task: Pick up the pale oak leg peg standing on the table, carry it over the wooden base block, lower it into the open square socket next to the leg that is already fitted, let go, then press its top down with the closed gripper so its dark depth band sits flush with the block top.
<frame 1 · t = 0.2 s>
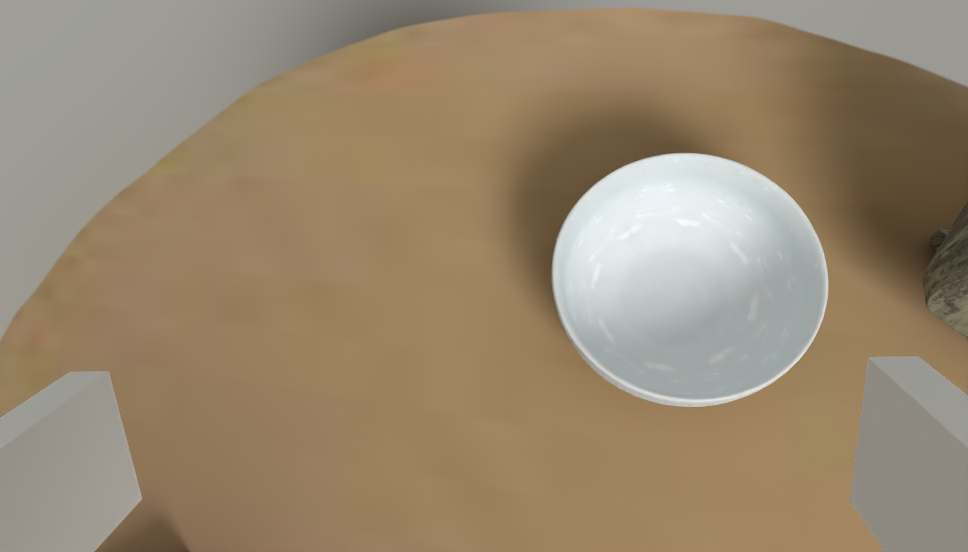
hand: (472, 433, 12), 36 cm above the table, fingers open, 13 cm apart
cereal bowl: (668, 299, 48), on the table
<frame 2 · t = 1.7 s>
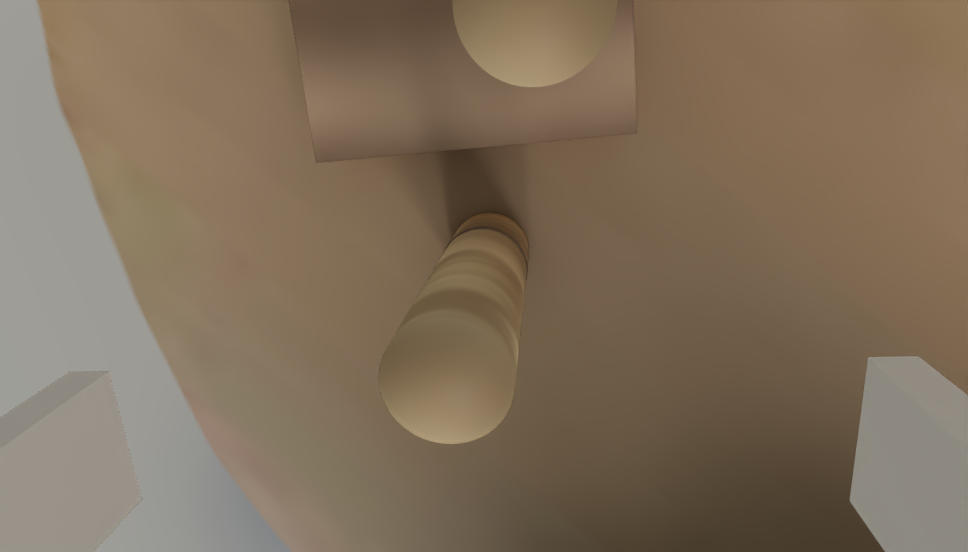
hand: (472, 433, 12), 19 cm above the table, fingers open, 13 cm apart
leg peg: (490, 250, 31), on the table
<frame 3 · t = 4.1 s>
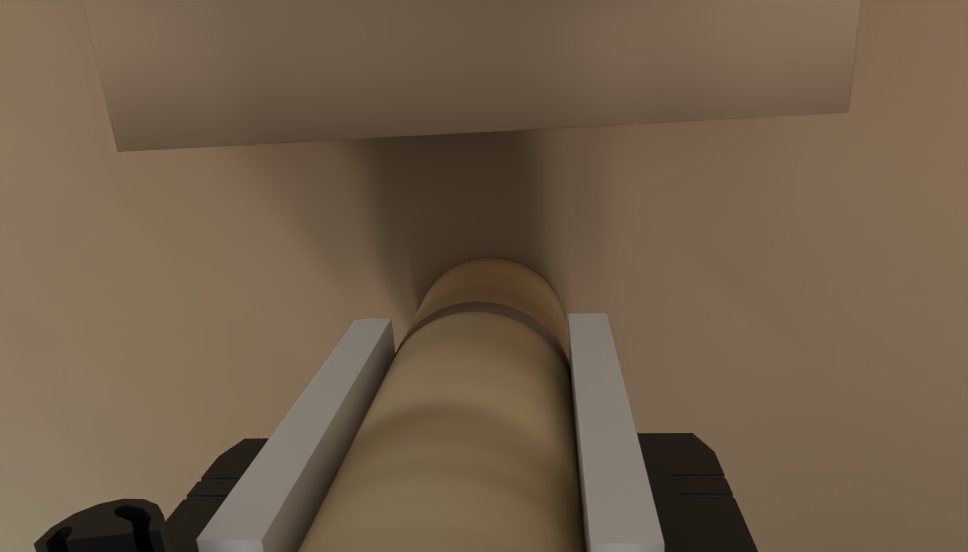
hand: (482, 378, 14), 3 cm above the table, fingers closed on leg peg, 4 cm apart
leg peg: (491, 328, 16), on the table, touching gripper
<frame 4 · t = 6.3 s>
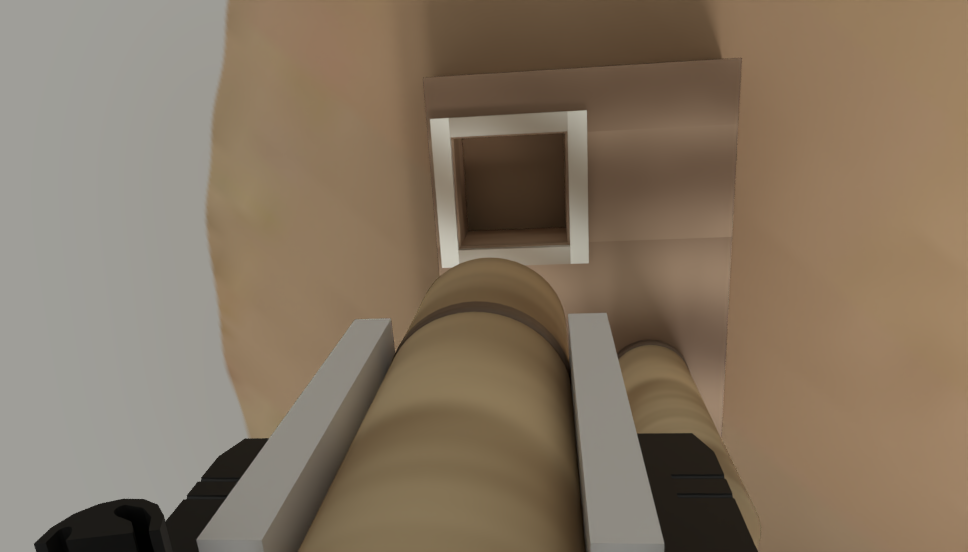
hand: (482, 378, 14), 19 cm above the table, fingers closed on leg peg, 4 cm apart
leg peg: (491, 328, 16), point 17 cm above the table, touching gripper
wooden base block: (578, 258, 33), on the table
when the fingers open (4 cm above the table, at t = 8.6 s): leg peg drops 1 cm, resting in wooden base block.
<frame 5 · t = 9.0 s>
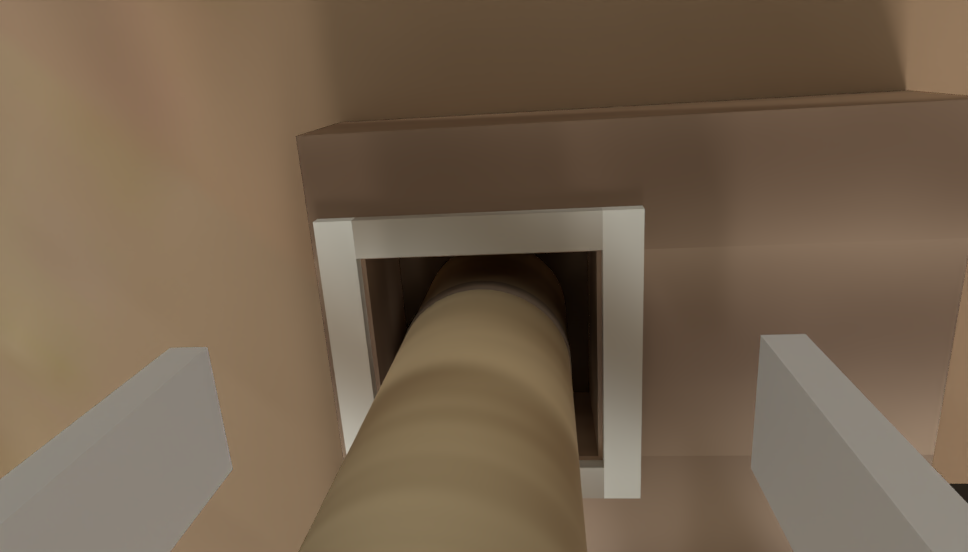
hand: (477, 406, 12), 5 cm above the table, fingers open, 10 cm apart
leg peg: (495, 310, 17), resting in wooden base block
wooden base block: (612, 444, 18), on the table
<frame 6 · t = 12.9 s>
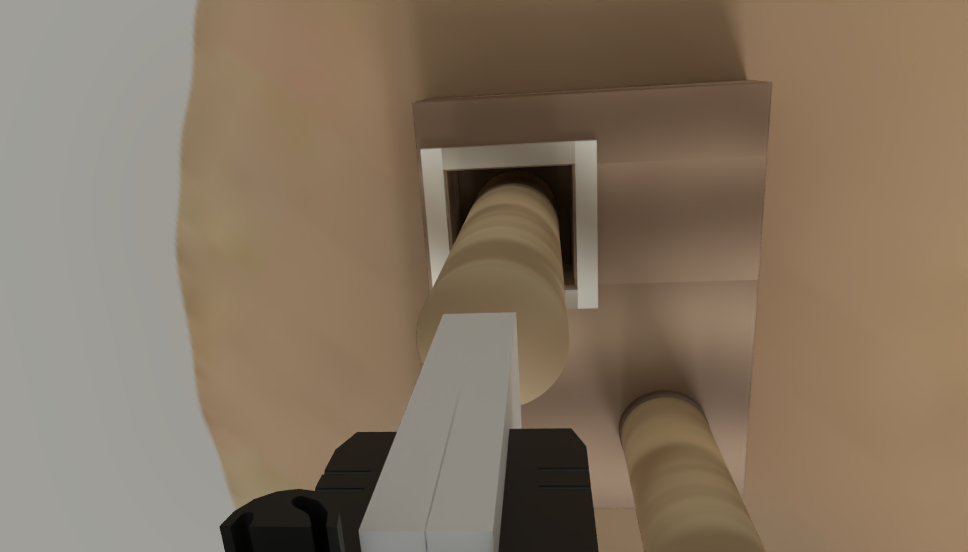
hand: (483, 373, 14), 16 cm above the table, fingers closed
leg peg: (515, 211, 29), resting in wooden base block
wooden base block: (585, 296, 30), on the table
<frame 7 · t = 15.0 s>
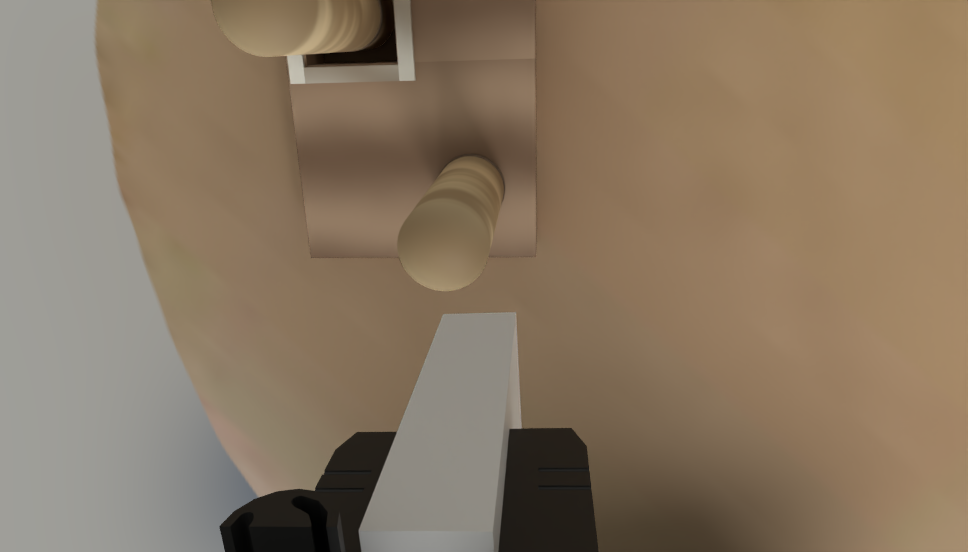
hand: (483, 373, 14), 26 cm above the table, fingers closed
leg peg: (362, 15, 36), resting in wooden base block
wooden base block: (420, 90, 37), on the table
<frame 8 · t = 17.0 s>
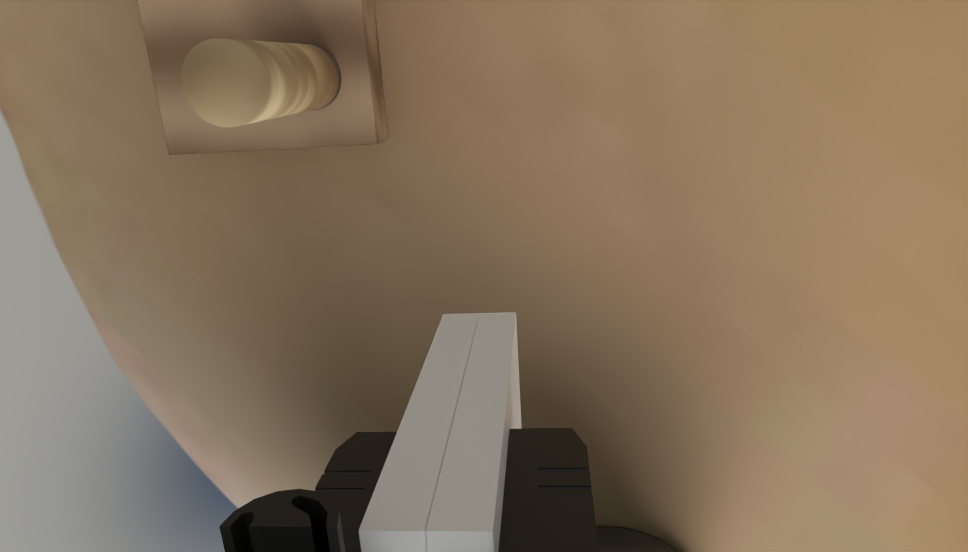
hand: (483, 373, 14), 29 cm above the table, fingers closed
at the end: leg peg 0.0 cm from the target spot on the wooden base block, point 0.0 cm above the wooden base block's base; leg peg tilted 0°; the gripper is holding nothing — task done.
